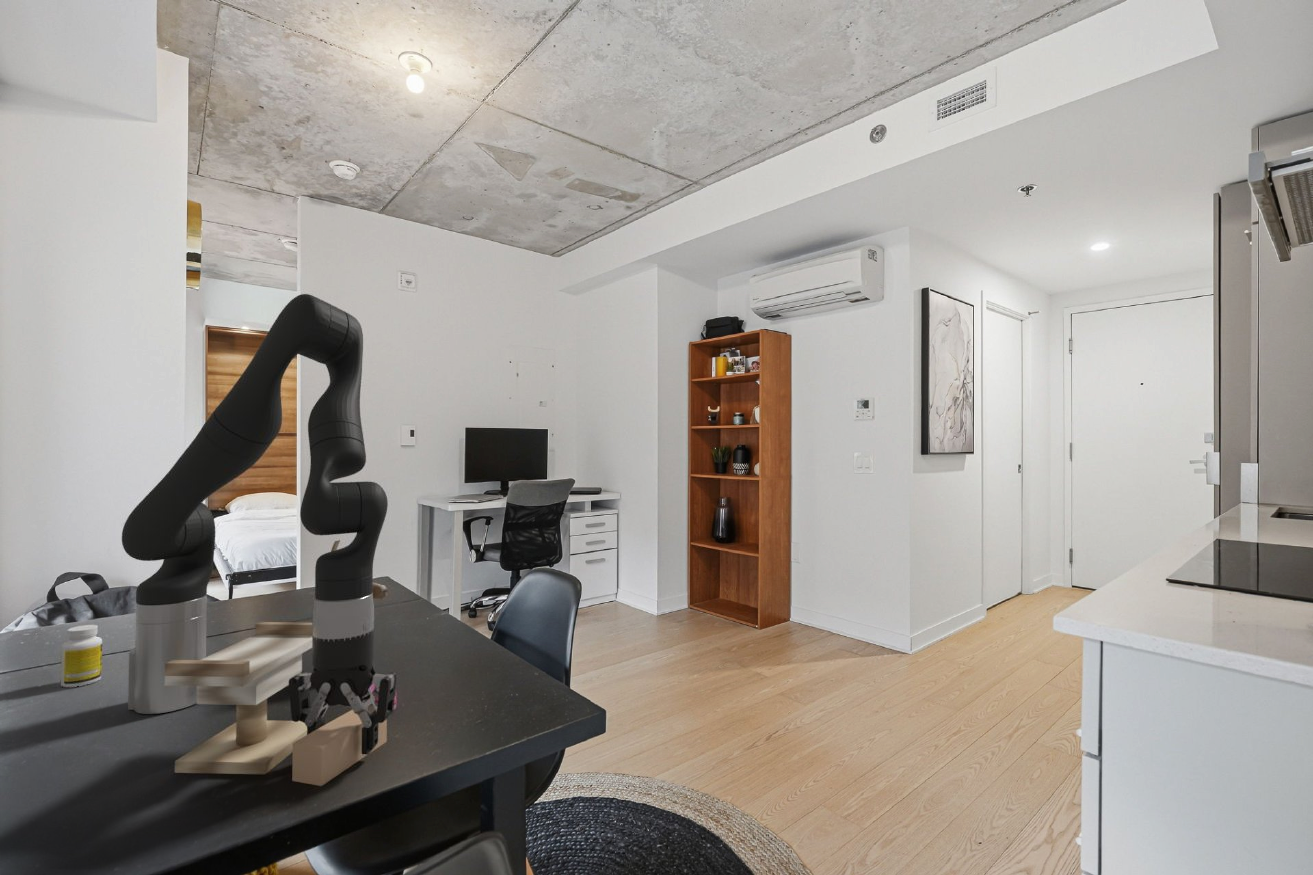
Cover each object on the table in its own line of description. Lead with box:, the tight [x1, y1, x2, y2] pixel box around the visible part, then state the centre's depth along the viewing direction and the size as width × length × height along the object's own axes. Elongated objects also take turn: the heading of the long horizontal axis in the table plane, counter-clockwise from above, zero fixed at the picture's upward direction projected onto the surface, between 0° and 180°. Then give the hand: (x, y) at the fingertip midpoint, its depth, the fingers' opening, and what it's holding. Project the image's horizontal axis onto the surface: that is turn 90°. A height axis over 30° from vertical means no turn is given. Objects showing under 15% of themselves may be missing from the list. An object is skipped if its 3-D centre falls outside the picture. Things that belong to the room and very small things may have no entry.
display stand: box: [165, 621, 313, 775], centre depth 86 cm, size 12×18×15 cm, turn 179°
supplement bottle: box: [60, 624, 103, 688], centre depth 110 cm, size 5×5×10 cm
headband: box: [370, 683, 398, 711], centre depth 103 cm, size 11×4×2 cm, turn 34°
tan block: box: [291, 708, 388, 787], centre depth 84 cm, size 4×12×5 cm, turn 165°
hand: (342, 750), depth 83 cm, fingers open, 6 cm apart
